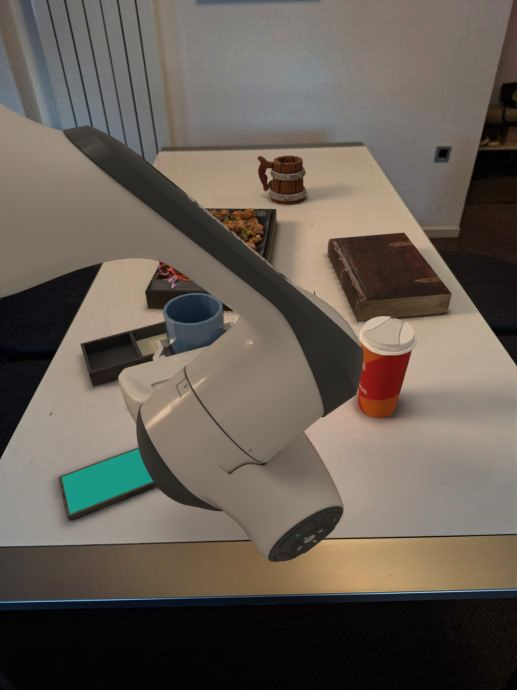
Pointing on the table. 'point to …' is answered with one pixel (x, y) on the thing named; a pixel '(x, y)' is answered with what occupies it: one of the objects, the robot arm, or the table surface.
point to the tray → (121, 352)
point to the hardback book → (387, 277)
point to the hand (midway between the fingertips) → (194, 335)
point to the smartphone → (104, 483)
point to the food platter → (245, 224)
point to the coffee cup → (384, 364)
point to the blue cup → (193, 321)
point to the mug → (284, 179)
